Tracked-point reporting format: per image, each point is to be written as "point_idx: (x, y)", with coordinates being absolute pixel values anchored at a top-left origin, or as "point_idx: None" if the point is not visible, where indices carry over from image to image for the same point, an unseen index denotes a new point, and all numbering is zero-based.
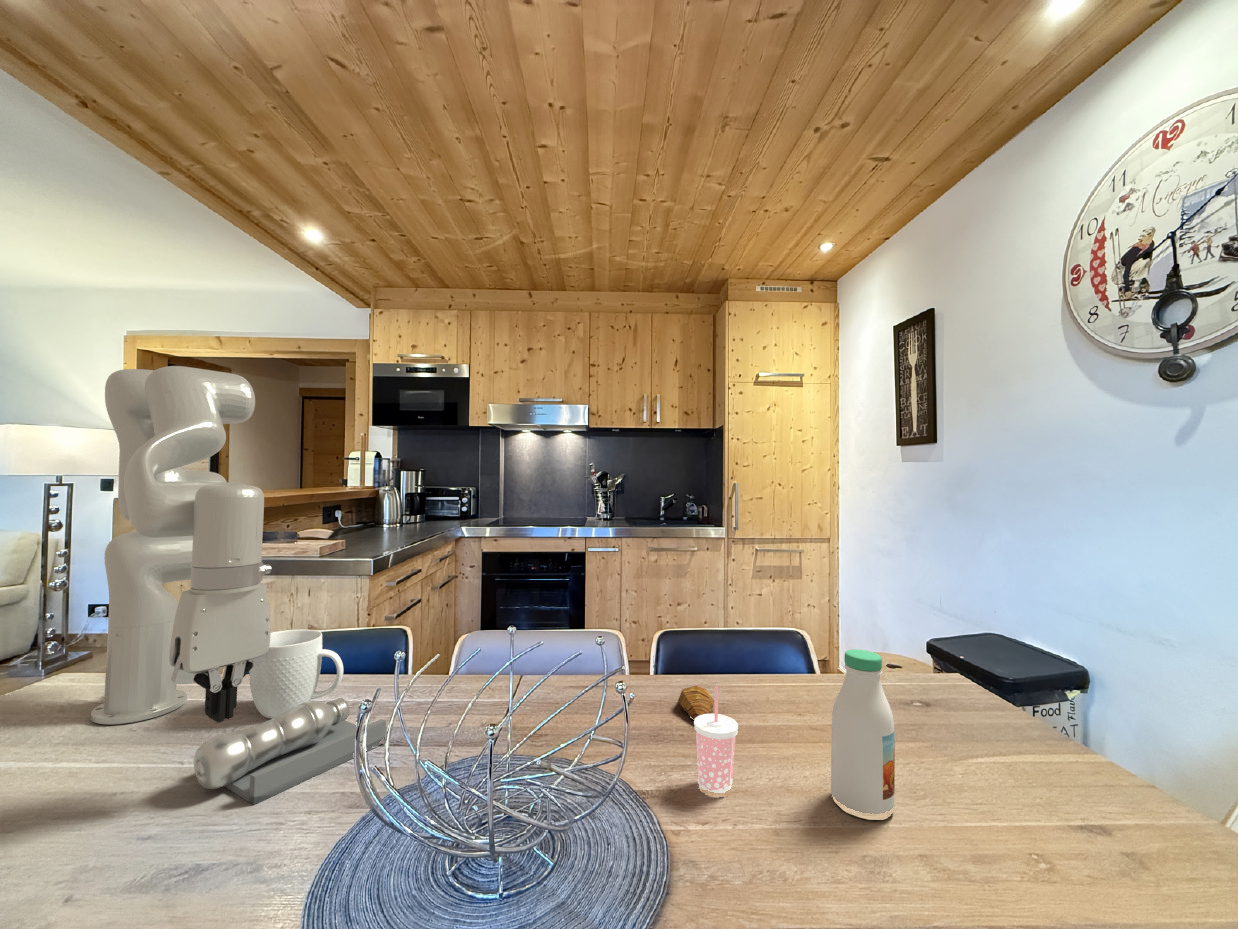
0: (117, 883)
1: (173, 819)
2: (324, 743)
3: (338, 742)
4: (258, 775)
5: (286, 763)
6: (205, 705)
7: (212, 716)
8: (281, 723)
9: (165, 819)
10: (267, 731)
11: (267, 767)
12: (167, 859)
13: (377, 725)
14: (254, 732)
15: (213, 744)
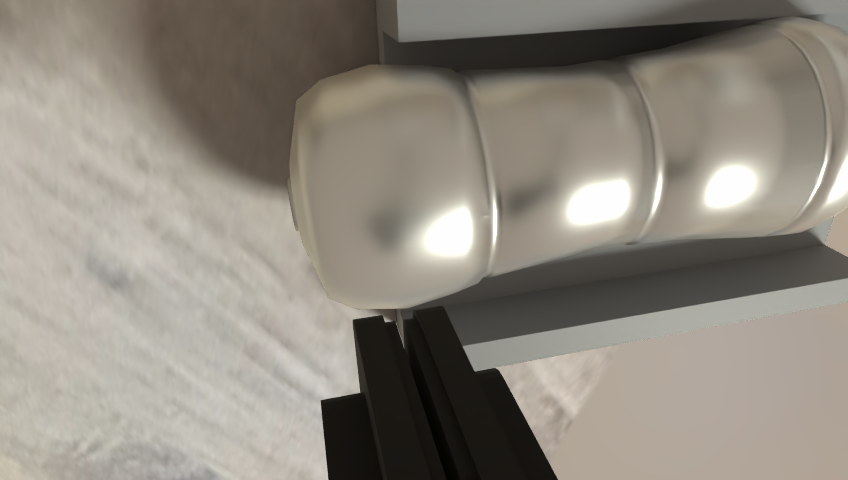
0: (34, 436)
1: (198, 229)
2: (670, 313)
3: (696, 328)
4: None
5: (521, 361)
6: (326, 442)
7: (360, 386)
8: (658, 229)
9: (176, 210)
10: (584, 244)
11: (471, 348)
12: (152, 416)
13: (834, 302)
14: (538, 245)
15: (351, 273)
